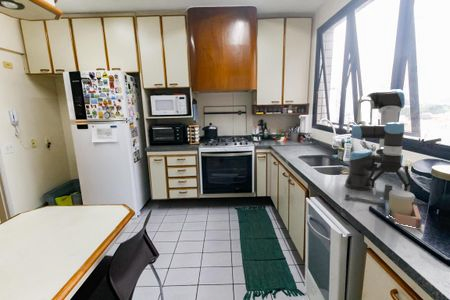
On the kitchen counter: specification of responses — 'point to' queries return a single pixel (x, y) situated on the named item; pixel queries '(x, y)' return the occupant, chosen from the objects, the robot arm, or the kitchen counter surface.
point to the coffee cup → (400, 202)
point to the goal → (410, 218)
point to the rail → (363, 200)
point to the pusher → (386, 197)
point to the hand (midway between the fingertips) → (387, 195)
